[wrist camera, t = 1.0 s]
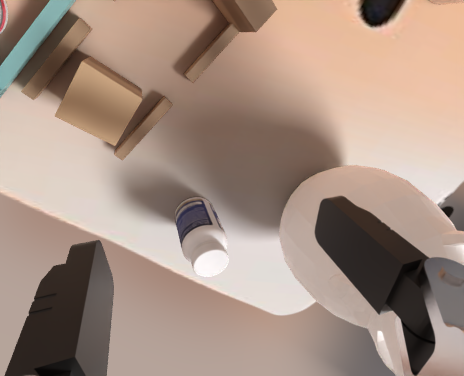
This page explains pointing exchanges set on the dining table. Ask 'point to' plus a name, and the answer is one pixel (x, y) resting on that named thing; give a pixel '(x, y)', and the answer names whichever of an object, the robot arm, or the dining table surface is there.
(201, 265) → the pill bottle
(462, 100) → the dining table surface
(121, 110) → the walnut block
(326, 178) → the white vase
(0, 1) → the pill bottle
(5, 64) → the frame
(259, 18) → the walnut lane broken
